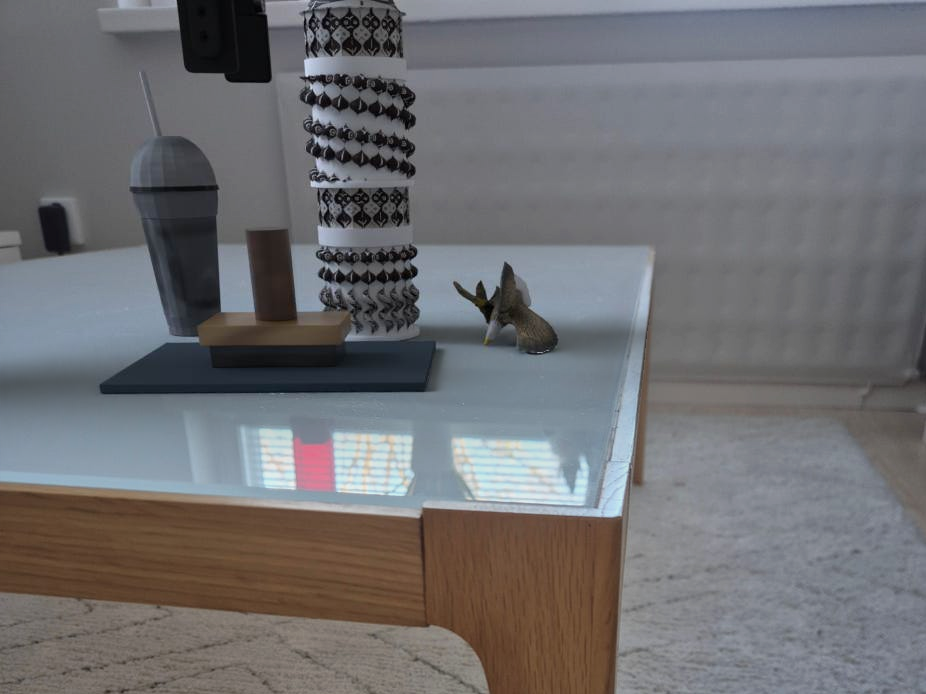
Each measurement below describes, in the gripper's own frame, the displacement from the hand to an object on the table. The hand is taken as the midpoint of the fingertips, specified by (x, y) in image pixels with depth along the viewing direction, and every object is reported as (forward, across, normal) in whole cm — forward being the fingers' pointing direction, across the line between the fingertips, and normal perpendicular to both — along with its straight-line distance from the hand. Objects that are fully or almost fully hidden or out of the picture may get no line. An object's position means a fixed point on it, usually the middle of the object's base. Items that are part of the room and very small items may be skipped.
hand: (231, 78), depth 61 cm
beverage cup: (+19, -16, -9) cm, 27 cm away
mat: (+19, 0, +2) cm, 19 cm away
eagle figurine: (+18, -9, +19) cm, 28 cm away
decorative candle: (+19, -14, +7) cm, 24 cm away
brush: (+18, 0, +2) cm, 18 cm away
